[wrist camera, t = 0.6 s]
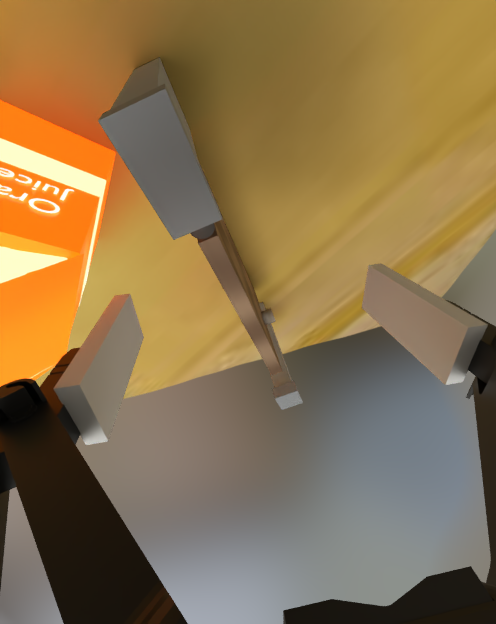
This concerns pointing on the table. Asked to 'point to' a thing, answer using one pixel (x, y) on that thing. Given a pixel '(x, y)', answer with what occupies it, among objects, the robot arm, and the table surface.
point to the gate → (238, 288)
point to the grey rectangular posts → (171, 170)
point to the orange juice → (44, 236)
